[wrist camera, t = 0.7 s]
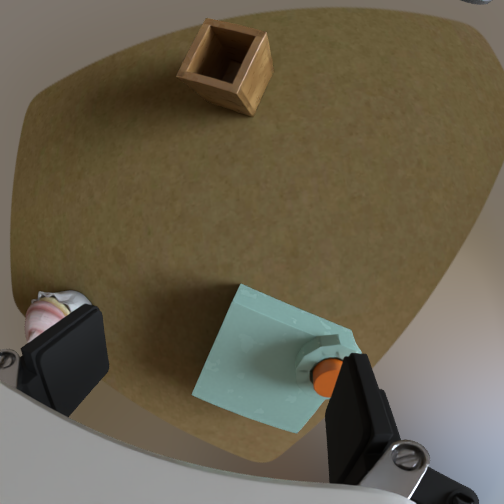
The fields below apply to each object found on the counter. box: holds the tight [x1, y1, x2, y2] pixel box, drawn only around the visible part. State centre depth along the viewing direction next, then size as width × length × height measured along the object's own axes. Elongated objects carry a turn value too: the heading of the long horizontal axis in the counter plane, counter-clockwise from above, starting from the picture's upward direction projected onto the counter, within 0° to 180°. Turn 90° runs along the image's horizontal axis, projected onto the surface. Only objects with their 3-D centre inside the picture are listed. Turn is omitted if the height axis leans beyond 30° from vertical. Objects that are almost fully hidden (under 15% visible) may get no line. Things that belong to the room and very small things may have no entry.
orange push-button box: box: [192, 284, 362, 433], centre depth 27 cm, size 13×13×6 cm
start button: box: [313, 358, 343, 398], centre depth 22 cm, size 3×3×2 cm
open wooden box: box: [176, 18, 274, 117], centre depth 20 cm, size 5×4×8 cm
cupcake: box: [25, 290, 92, 343], centre depth 27 cm, size 9×9×10 cm
